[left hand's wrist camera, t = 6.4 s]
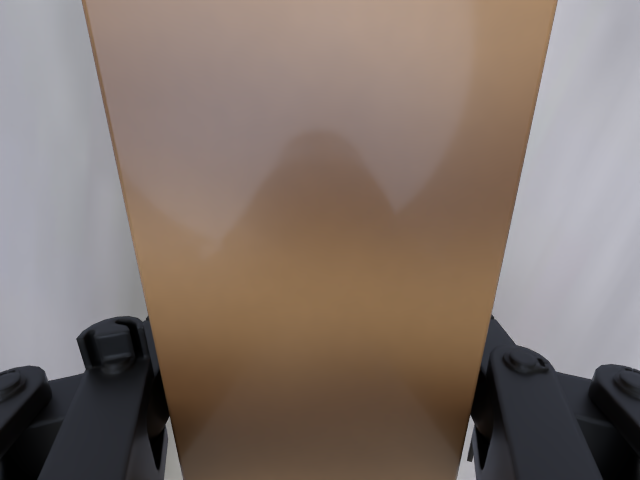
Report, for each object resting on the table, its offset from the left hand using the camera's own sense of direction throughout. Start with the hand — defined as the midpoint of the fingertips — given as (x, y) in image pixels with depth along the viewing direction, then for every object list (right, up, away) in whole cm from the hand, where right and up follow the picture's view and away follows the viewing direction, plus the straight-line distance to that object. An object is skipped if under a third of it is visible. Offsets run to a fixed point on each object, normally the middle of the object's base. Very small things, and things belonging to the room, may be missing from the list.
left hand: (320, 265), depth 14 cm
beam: (0, +22, -8) cm, 24 cm away
